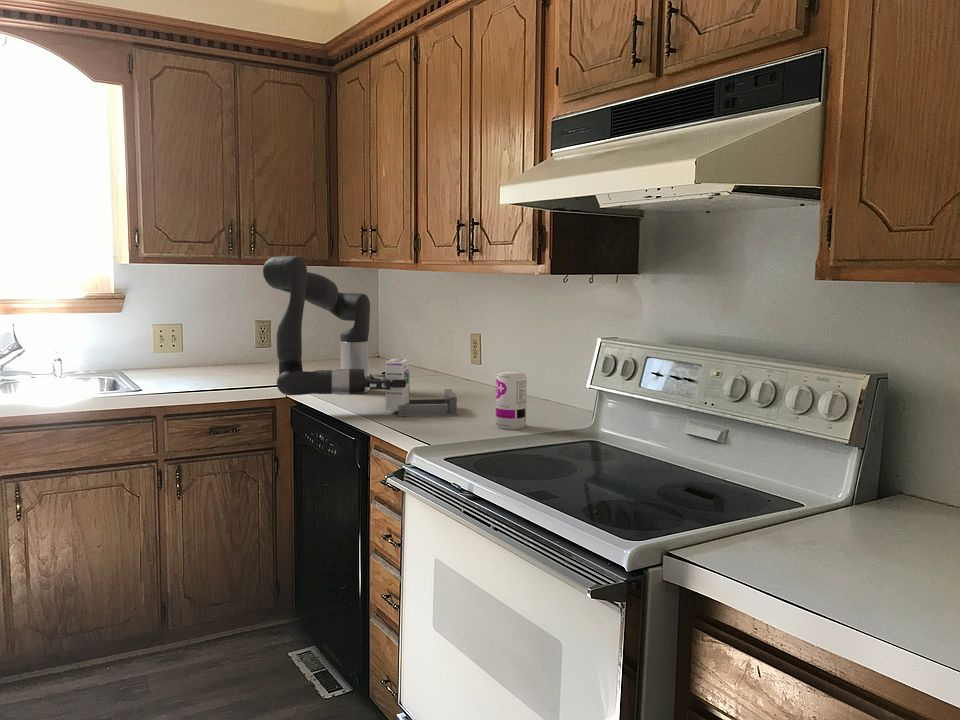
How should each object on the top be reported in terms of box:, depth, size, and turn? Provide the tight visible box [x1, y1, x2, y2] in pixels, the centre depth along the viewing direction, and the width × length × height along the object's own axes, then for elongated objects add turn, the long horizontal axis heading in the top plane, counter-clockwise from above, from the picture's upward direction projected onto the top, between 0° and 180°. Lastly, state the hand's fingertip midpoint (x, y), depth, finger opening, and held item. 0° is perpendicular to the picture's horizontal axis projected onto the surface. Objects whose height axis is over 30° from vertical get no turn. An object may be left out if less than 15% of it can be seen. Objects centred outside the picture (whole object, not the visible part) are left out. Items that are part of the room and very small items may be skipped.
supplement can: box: [495, 369, 528, 431], centre depth 219 cm, size 8×8×15 cm
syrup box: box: [384, 358, 411, 411], centre depth 238 cm, size 6×6×14 cm
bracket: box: [396, 388, 458, 418], centre depth 240 cm, size 14×17×6 cm
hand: (404, 381), depth 238 cm, fingers closed on syrup box, 7 cm apart
